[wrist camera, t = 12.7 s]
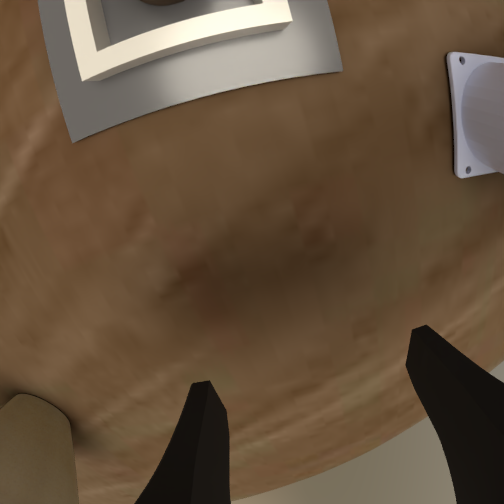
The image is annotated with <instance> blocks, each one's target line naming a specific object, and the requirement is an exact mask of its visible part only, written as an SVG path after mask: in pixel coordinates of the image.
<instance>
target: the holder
mask: <svg viewBox="0 0 504 504" xmlns="http://www.w3.org/2000/svg"><path fill="white" fill-rule="evenodd" d="M38 5H39V12H40V18H41V23H42V29H43V34H44V39H45V44H46V49H47V54H48V58H49V62H50V67H51V71H52V75H53V79H54V83H55V87H56V90H57V94H58V98H59V101H60V105H61V108H62V112H63V115H64V118H65V122H66V125H67V128H68V131H69V134H70V137H71V141H72V143H74V142H76V141H78V140H81V139H83V138H85V137H87V136H90V135H92V134H95V133H97V132H99V131H102V130H104V129H107V128H109V127H112V126H115V125H117V124H120V123H123V122H125V121H128V120H131V119H133V118H136V117H139V116H142V115H145V114H148V113H151V112H154V111H157V110H160V109H163V108H166V107H169V106H173V105H176V104H179V103H183V102H186V101H189V100H193V99H197V98H200V97H204V96H208V95H211V94H215V93H219V92H223V91H228V90H232V89H236V88H241V87H245V86H250V85H255V84H260V83H265V82H270V81H275V80H281V79H287V78H293V77H299V76H306V75H313V74H321V73H329V72H338V71H343V67H342V62H341V57H340V52H339V48H338V43H337V39H336V34H335V30H334V26H333V22H332V18H331V14H330V10H329V6H328V2H327V0H185V1H182V2H180V3H177V4H173V5H166V6H155V5H150V4H147V3H144V2H142V1H140V0H38Z"/></svg>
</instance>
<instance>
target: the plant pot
mask: <svg viewBox="0 0 504 504" xmlns="http://www.w3.org/2000/svg"><path fill="white" fill-rule="evenodd" d="M0 504H79V497H78V486H77V476H76V466H75V457H74V449H73V442H72V434H71V427H70V422H69V420H68V419H67V417H66V416H65V415H64V414H63V413H62V412H61V411H60V410H58V409H57V408H56V407H54V406H53V405H51V404H49V403H48V402H46V401H44V400H42V399H40V398H38V397H35V396H32V395H28V394H18V395H16V396H15V397H13V398H12V399H11V400H10V401H9V402H8V403H6V404H5V405H4V406H3V407H2V408H1V409H0Z"/></svg>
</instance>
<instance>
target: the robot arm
mask: <svg viewBox="0 0 504 504" xmlns="http://www.w3.org/2000/svg"><path fill="white" fill-rule="evenodd" d="M459 58H461V63H460V61H459ZM447 65H448V72H449V80H450V88H451V98H452V110H453V126H454V171H455V174H456V176H458V177H459V178H467V177H472V176H477V175H483V174H488V173H494V172H500V173H502V174H504V58H500V57H493V56H486V55H479V54H470V53H460V52H449V53H448V54H447ZM467 167H468V169H467V171H466V168H467ZM406 368H407V371H408V373H409V376H410V379H411V381H412V384H413V386H414V389H415V391H416V393H417V395H418V397H419V399H420V401H421V403H422V404H423V406H424V408H425V410H426V412H427V414H428V416H429V418H430V420H431V422H432V424H433V426H434V428H435V430H436V432H437V434H438V436H439V439H440V441H441V444H442V447H443V450H444V453H445V456H446V459H447V463H448V466H449V470H450V474H451V477H452V482H453V486H454V491H455V496H456V501H457V504H504V383H503V382H501V381H500V380H498V379H497V378H495V377H494V376H492V375H491V374H489V373H488V372H486V371H485V370H484V369H482V368H481V367H479V366H478V365H477V364H475V363H474V362H473V361H471V360H470V359H469V358H467V357H466V356H465V355H464V354H462V353H461V352H460V351H458V350H457V349H456V348H455V347H454V346H452V345H451V344H450V343H449V342H447V341H446V340H445V339H444V338H442V337H441V336H440V335H439V334H438V333H436V332H435V331H434V330H433V329H431V328H430V327H429V326H428V325H424V326H421V327H418V328H415V329H413V330H412V333H411V338H410V344H409V350H408V355H407V360H406ZM134 504H231V501H230V488H229V428H228V420H227V412H226V409H225V407H224V405H223V404H222V402H221V400H220V398H219V396H218V395H217V393H216V391H215V389H214V387H213V386H212V384H211V382H210V381H203V382H197V383H193V384H192V385H191V387H190V390H189V393H188V396H187V399H186V402H185V405H184V408H183V411H182V413H181V416H180V419H179V421H178V424H177V426H176V428H175V431H174V433H173V436H172V438H171V440H170V443H169V445H168V447H167V449H166V451H165V453H164V455H163V457H162V459H161V461H160V463H159V465H158V467H157V469H156V471H155V472H154V474H153V476H152V478H151V479H150V481H149V483H148V484H147V486H146V487H145V489H144V490H143V492H142V493H141V495H140V496H139V498H138V499H137V501H136V502H135V503H134Z"/></svg>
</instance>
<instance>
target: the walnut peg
mask: <svg viewBox="0 0 504 504" xmlns="http://www.w3.org/2000/svg"><path fill="white" fill-rule="evenodd" d="M140 1H142V2H144V3H147V4H150V5H155V6H166V5H173V4H177V3H180V2H182V1H185V0H140Z"/></svg>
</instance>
